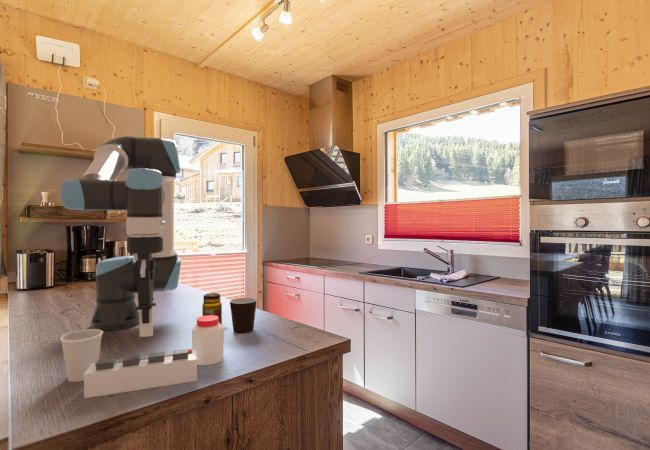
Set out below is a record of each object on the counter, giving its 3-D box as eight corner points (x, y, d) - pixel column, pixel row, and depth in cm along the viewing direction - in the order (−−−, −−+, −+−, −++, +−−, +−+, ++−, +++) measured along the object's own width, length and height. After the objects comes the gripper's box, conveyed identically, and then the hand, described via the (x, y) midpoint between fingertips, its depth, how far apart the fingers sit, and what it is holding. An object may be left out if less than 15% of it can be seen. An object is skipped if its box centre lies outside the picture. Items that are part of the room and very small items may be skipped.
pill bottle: (229, 357, 96) (229, 316, 95) (205, 368, 89) (205, 324, 89) (210, 351, 100) (209, 312, 99) (185, 361, 93) (185, 319, 93)
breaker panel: (91, 385, 80) (90, 357, 80) (196, 370, 88) (196, 344, 87) (84, 398, 74) (83, 367, 74) (197, 380, 82) (196, 353, 82)
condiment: (214, 335, 114) (214, 297, 113) (192, 332, 116) (191, 295, 116) (227, 328, 121) (227, 292, 120) (206, 325, 123) (205, 291, 123)
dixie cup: (83, 386, 80) (83, 341, 79) (51, 383, 81) (50, 339, 81) (112, 370, 88) (111, 329, 87) (82, 367, 89) (81, 327, 89)
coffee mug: (250, 335, 113) (250, 304, 113) (225, 333, 115) (225, 302, 114) (264, 324, 124) (263, 296, 124) (240, 323, 126) (240, 294, 126)
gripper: (160, 237, 79) (162, 342, 80) (164, 233, 91) (165, 325, 92) (122, 237, 76) (123, 347, 77) (131, 234, 89) (132, 328, 89)
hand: (146, 335), depth 85 cm, fingers closed
